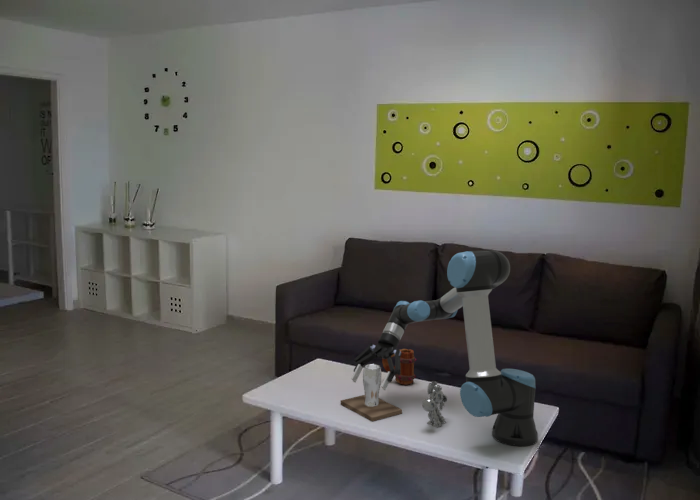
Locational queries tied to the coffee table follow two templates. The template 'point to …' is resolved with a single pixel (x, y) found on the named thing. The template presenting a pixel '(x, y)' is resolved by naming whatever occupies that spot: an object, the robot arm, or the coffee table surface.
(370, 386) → the beer glass
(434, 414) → the robot toy
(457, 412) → the coffee table surface
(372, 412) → the serving board
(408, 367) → the mug
